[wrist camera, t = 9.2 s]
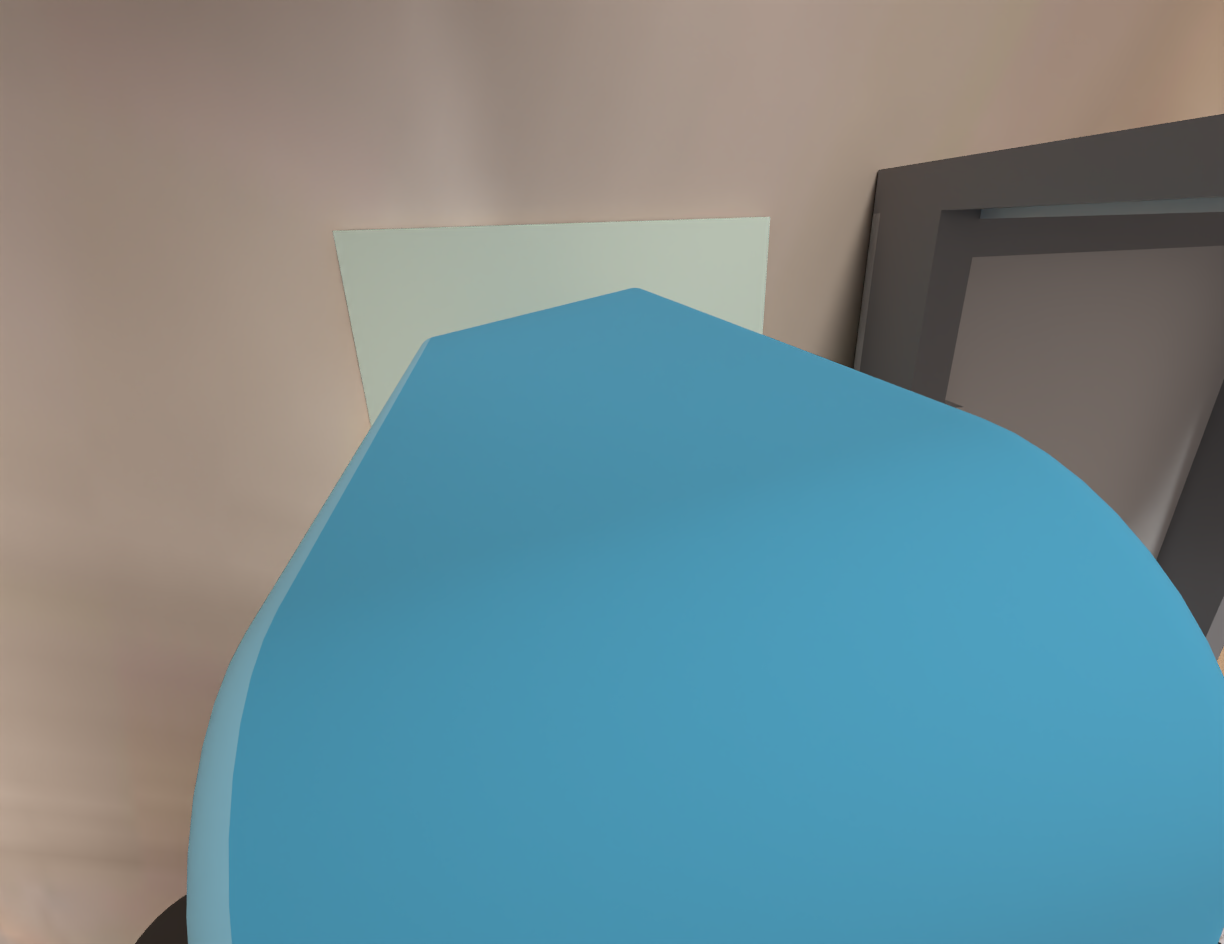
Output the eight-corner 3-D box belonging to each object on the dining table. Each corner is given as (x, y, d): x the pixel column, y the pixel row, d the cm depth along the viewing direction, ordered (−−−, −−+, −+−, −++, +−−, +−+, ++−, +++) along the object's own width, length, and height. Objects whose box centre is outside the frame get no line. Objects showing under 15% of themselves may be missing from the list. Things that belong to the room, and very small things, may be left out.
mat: (336, 230, 13) (332, 230, 13) (763, 217, 15) (770, 216, 14) (436, 740, 19) (434, 750, 18) (734, 689, 20) (738, 698, 20)
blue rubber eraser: (706, 685, 18) (1053, 1416, 7) (561, 731, 17) (682, 1586, 6) (628, 278, 13) (1417, 545, 2) (424, 328, 12) (-58, 1031, 2)
